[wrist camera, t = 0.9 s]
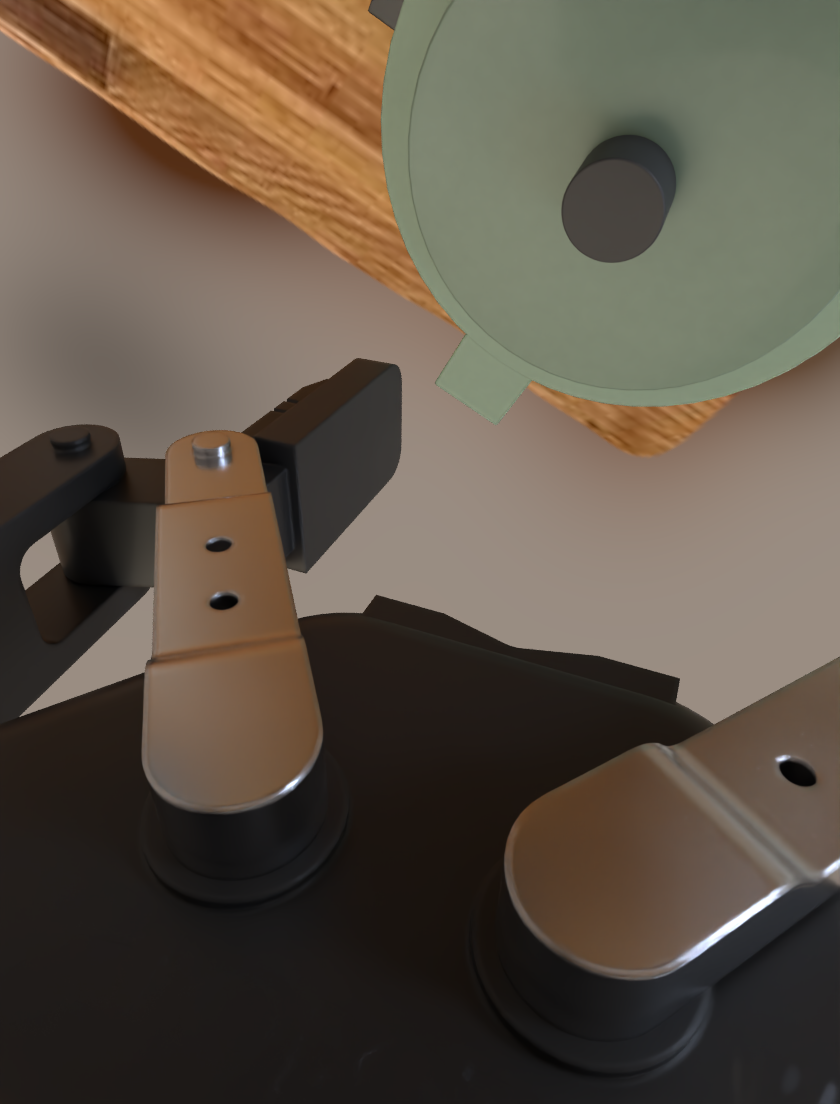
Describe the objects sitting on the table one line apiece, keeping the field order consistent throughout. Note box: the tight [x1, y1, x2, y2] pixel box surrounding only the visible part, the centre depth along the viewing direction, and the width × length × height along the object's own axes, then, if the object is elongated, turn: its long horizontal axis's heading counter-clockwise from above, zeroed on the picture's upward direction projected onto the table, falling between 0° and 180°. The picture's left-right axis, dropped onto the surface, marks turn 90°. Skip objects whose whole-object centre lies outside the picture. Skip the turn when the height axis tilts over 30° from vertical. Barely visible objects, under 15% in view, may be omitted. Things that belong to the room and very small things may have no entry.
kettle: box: [368, 0, 840, 425], centre depth 24 cm, size 18×23×22 cm
